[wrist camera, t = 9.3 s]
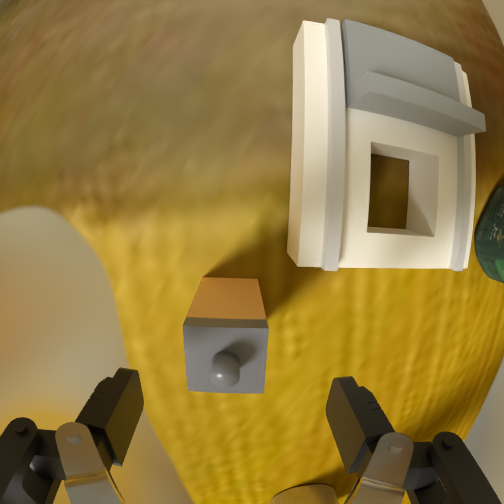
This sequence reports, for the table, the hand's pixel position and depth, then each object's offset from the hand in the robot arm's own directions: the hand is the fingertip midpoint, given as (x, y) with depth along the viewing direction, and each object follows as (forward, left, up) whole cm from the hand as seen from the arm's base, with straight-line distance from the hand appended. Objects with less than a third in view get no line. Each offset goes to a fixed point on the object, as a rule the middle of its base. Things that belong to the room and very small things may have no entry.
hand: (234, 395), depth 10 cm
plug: (0, +1, -11) cm, 11 cm away
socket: (+12, -10, -11) cm, 19 cm away
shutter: (+16, -10, -7) cm, 21 cm away
